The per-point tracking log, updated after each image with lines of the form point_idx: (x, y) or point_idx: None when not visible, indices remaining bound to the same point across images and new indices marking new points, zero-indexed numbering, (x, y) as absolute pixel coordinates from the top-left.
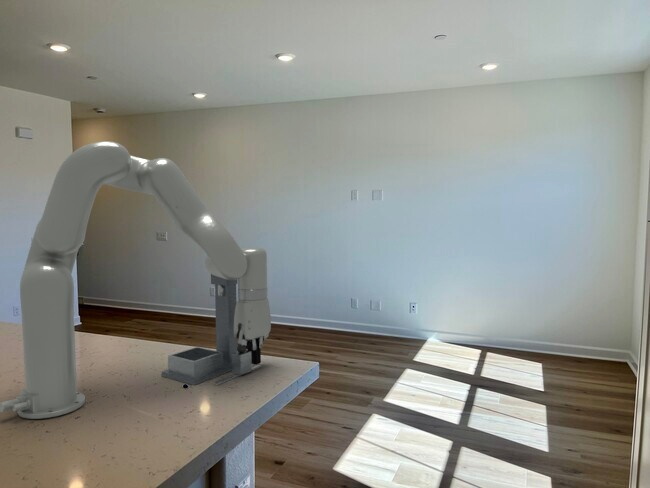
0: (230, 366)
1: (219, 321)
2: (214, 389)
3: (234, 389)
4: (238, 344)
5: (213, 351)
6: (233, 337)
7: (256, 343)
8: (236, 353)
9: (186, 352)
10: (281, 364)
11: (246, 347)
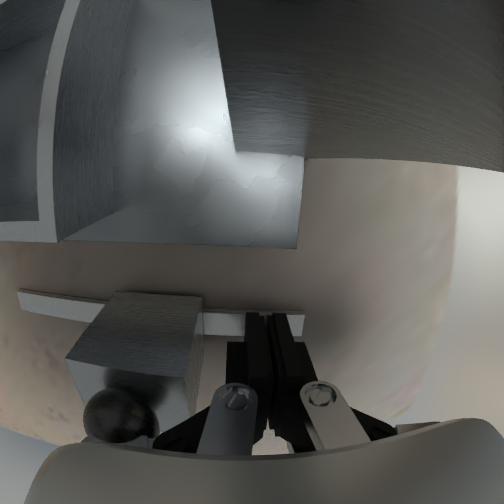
0: (149, 241)
1: None
2: (10, 321)
3: (53, 375)
4: (85, 439)
5: (40, 136)
6: (345, 146)
7: (304, 439)
8: (87, 385)
9: (12, 3)
10: (368, 370)
11: (202, 412)
